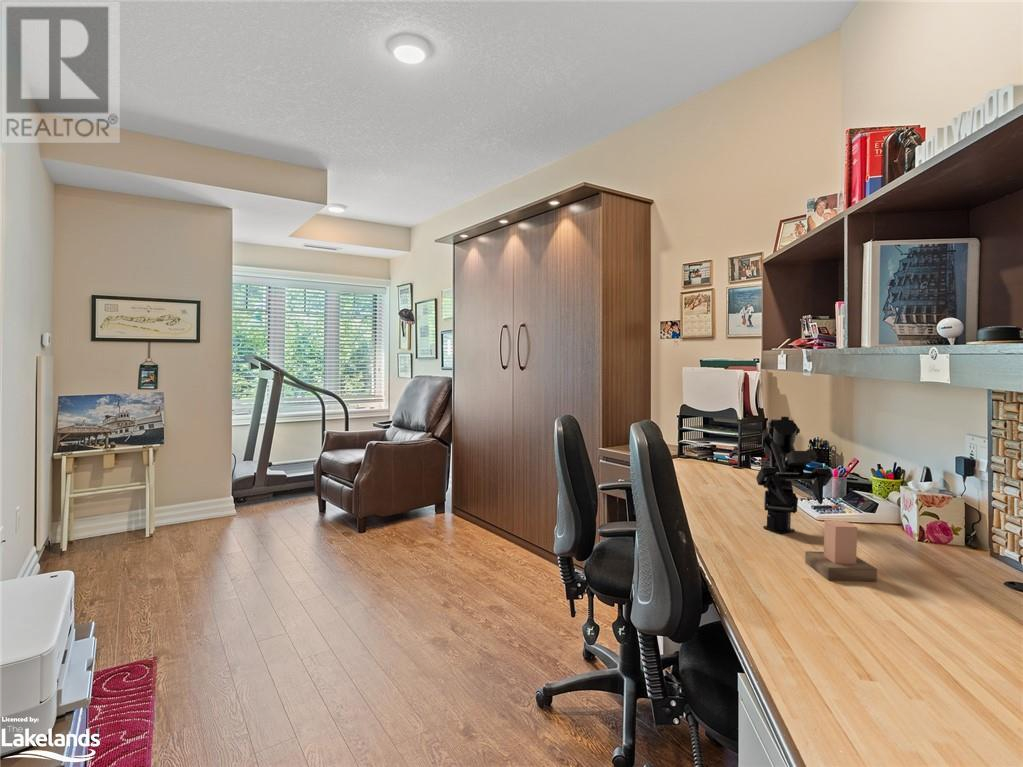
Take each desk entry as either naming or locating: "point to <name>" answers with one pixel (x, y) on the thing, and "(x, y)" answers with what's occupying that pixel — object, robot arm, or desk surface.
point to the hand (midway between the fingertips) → (803, 503)
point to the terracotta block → (840, 541)
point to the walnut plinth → (840, 568)
